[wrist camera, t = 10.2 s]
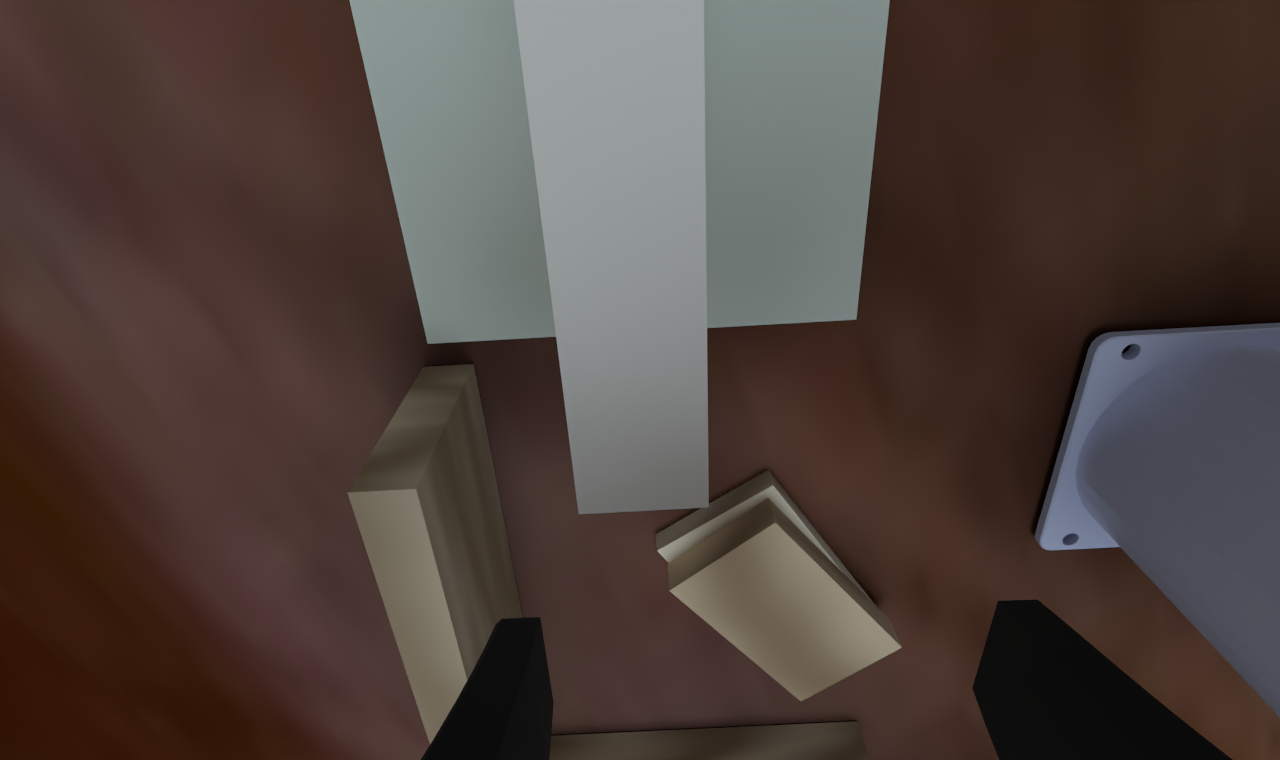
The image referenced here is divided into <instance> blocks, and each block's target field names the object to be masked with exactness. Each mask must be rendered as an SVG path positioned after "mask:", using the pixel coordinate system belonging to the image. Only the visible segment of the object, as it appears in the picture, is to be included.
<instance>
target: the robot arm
mask: <svg viewBox="0 0 1280 760" xmlns="http://www.w3.org/2000/svg"><path fill="white" fill-rule="evenodd" d="M1130 344H1131V347H1130V349H1129V350H1128V351H1126V352H1125V353H1123V354H1122V351H1123V349H1124V348H1125V347H1127V346H1128V345H1130ZM1068 534H1069V535H1068ZM1066 535H1067V536H1066ZM1065 536H1066V537H1065ZM1035 539H1036V541H1037V542H1038V543H1039V545H1040V546H1041V547H1042V548H1043V549H1045V550H1068V549H1088V548H1108V547H1121V548H1122V549H1123V551H1124V552H1125V553H1126V554H1127V555H1128V556H1129V557H1130V558H1131V559H1132V560H1133V561H1134V562H1135V563H1136V564H1137V566H1138V567H1139V568H1140V569H1141V570H1142V571H1143V572H1144V573H1145V574H1146V575H1147V576H1148V577H1149V578H1150V579H1151V580H1152V582H1153V583H1154V584H1155V585H1156V586H1157V587H1158V588H1159V589H1160V590H1161V591H1162V592H1163V593H1164V594H1165V595H1166V597H1167V598H1168V599H1169V600H1170V601H1171V602H1172V603H1173V604H1174V605H1175V606H1176V607H1177V608H1178V609H1179V610H1180V612H1181V613H1182V614H1183V615H1184V616H1185V617H1186V618H1187V619H1188V620H1189V621H1190V622H1191V623H1192V624H1193V625H1194V627H1195V628H1196V629H1197V630H1198V631H1199V632H1200V633H1201V634H1202V635H1203V636H1204V637H1205V638H1206V639H1207V640H1208V641H1209V643H1210V644H1211V645H1212V646H1213V647H1214V648H1215V649H1216V650H1217V651H1218V652H1219V653H1220V654H1221V655H1222V656H1223V658H1224V659H1225V660H1226V661H1227V662H1228V663H1229V664H1230V665H1231V666H1232V667H1233V668H1234V669H1235V670H1236V671H1237V673H1238V674H1239V675H1240V676H1241V677H1242V678H1243V679H1244V680H1245V681H1246V682H1247V683H1248V684H1249V685H1250V686H1251V688H1252V689H1253V690H1254V691H1255V692H1256V693H1257V694H1258V695H1259V696H1260V697H1261V698H1262V699H1263V700H1264V701H1265V702H1266V704H1267V705H1268V706H1269V707H1270V708H1271V709H1272V710H1273V711H1274V712H1275V713H1276V714H1277V715H1278V716H1279V717H1280V323H1265V324H1247V325H1229V326H1211V327H1193V328H1175V329H1157V330H1139V331H1122V332H1109V333H1104V334H1102V335H1100V336H1099V337H1097V338H1096V339H1095V340H1094V341H1093V342H1092V343H1091V345H1090V347H1089V349H1088V352H1087V356H1086V359H1085V363H1084V366H1083V370H1082V373H1081V377H1080V380H1079V384H1078V387H1077V390H1076V394H1075V397H1074V401H1073V404H1072V408H1071V411H1070V415H1069V418H1068V422H1067V425H1066V428H1065V432H1064V435H1063V439H1062V442H1061V446H1060V449H1059V453H1058V456H1057V460H1056V463H1055V467H1054V470H1053V473H1052V477H1051V480H1050V484H1049V487H1048V491H1047V494H1046V498H1045V501H1044V505H1043V508H1042V512H1041V515H1040V518H1039V522H1038V525H1037V529H1036V532H1035ZM973 691H974V694H975V696H976V699H977V702H978V705H979V708H980V710H981V713H982V716H983V719H984V722H985V724H986V727H987V730H988V732H989V735H990V737H991V740H992V742H993V745H994V747H995V750H996V753H997V755H998V757H999V759H1000V760H1232V759H1231V758H1229V757H1228V756H1227V755H1226V754H1224V753H1223V752H1222V751H1220V750H1219V749H1218V748H1217V747H1215V746H1214V745H1213V744H1212V743H1210V742H1209V741H1208V740H1206V739H1205V738H1204V737H1203V736H1201V735H1200V734H1199V733H1197V732H1196V731H1195V730H1194V729H1192V728H1191V727H1190V726H1189V725H1187V724H1186V723H1185V722H1184V721H1183V720H1181V719H1180V718H1179V717H1178V716H1176V715H1175V714H1174V713H1173V712H1171V711H1170V710H1169V709H1168V708H1166V707H1165V706H1164V705H1163V704H1162V703H1160V702H1159V701H1158V700H1157V699H1155V698H1154V697H1153V696H1152V695H1151V694H1149V693H1148V692H1147V691H1146V690H1145V689H1143V688H1142V687H1141V686H1140V685H1139V684H1137V683H1136V682H1135V681H1134V680H1133V679H1131V678H1130V677H1129V676H1128V675H1127V674H1125V673H1124V672H1123V671H1122V670H1121V669H1119V668H1118V667H1117V666H1116V665H1115V664H1113V663H1112V662H1111V661H1110V660H1109V659H1108V658H1106V657H1105V656H1104V655H1103V654H1102V653H1100V652H1099V651H1098V650H1097V649H1096V648H1095V647H1093V646H1092V645H1091V644H1090V643H1089V642H1087V641H1086V640H1085V639H1084V638H1083V637H1082V636H1080V635H1079V634H1078V633H1077V632H1076V631H1074V630H1073V629H1072V628H1071V627H1070V626H1069V625H1067V624H1066V623H1065V622H1064V621H1063V620H1061V619H1060V618H1059V617H1058V616H1057V615H1055V614H1054V613H1053V612H1052V611H1051V610H1049V609H1048V608H1047V607H1046V606H1044V605H1043V604H1042V603H1041V602H1040V601H1038V600H1014V601H998V603H997V606H996V610H995V613H994V617H993V620H992V623H991V627H990V630H989V634H988V637H987V640H986V644H985V647H984V651H983V654H982V658H981V661H980V664H979V668H978V671H977V675H976V678H975V681H974V685H973ZM552 714H553V698H552V691H551V685H550V678H549V672H548V665H547V659H546V652H545V646H544V639H543V633H542V626H541V620H540V617H535V618H507V619H501V620H500V621H499V622H498V623H496V625H495V627H494V629H493V631H492V633H491V635H490V638H489V640H488V642H487V644H486V646H485V648H484V650H483V652H482V654H481V656H480V658H479V660H478V662H477V663H476V665H475V667H474V669H473V671H472V673H471V675H470V677H469V678H468V680H467V682H466V684H465V686H464V687H463V689H462V691H461V693H460V695H459V697H458V698H457V700H456V702H455V704H454V705H453V707H452V709H451V710H450V712H449V714H448V715H447V717H446V719H445V721H444V722H443V724H442V726H441V727H440V729H439V731H438V732H437V734H436V736H435V737H434V739H433V741H432V742H431V744H430V746H429V747H428V749H427V751H426V752H425V754H424V755H423V757H422V759H421V760H549V755H550V743H551V728H552Z"/></svg>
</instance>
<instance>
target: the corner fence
mask: <svg viewBox="0 0 1280 760" xmlns="http://www.w3.org/2000/svg"><path fill="white" fill-rule="evenodd" d="M347 493H348V496H349V499H350V502H351V505H352V508H353V511H354V514H355V517H356V520H357V523H358V526H359V529H360V532H361V535H362V538H363V541H364V545H365V548H366V551H367V554H368V557H369V560H370V563H371V566H372V569H373V572H374V575H375V578H376V581H377V584H378V587H379V590H380V593H381V596H382V599H383V602H384V605H385V608H386V612H387V615H388V618H389V621H390V624H391V627H392V630H393V633H394V636H395V639H396V642H397V645H398V648H399V651H400V654H401V657H402V660H403V663H404V666H405V669H406V672H407V675H408V679H409V682H410V685H411V688H412V691H413V694H414V697H415V700H416V703H417V706H418V709H419V712H420V715H421V718H422V721H423V724H424V727H425V730H426V733H427V736H428V739H429V742H430V744H431V742H432V741H433V739H434V737H435V736H436V734H437V732H438V731H439V729H440V727H441V726H442V724H443V722H444V721H445V719H446V717H447V715H448V714H449V712H450V710H451V709H452V707H453V705H454V704H455V702H456V700H457V698H458V697H459V695H460V693H461V691H462V689H463V687H464V686H465V684H466V682H467V680H468V678H469V677H470V675H471V673H472V671H473V669H474V667H475V665H476V663H477V662H478V660H479V658H480V656H481V654H482V652H483V650H484V648H485V646H486V644H487V642H488V640H489V638H490V635H491V633H492V631H493V629H494V627H495V625H496V623H498V622H499V621H500V620H501V619H507V618H523V615H522V609H521V604H520V599H519V594H518V589H517V584H516V579H515V574H514V568H513V563H512V558H511V553H510V548H509V543H508V538H507V533H506V527H505V522H504V517H503V512H502V507H501V502H500V497H499V491H498V486H497V481H496V476H495V471H494V466H493V461H492V456H491V450H490V445H489V440H488V435H487V430H486V425H485V420H484V414H483V409H482V404H481V399H480V394H479V389H478V384H477V379H476V373H475V368H474V364H465V365H447V366H429V367H423V368H422V370H421V371H420V373H419V375H418V376H417V378H416V380H415V381H414V383H413V385H412V386H411V388H410V390H409V391H408V393H407V395H406V396H405V398H404V400H403V401H402V403H401V405H400V406H399V408H398V410H397V411H396V413H395V415H394V416H393V418H392V420H391V421H390V423H389V425H388V426H387V428H386V429H385V431H384V433H383V434H382V436H381V438H380V439H379V441H378V443H377V444H376V446H375V448H374V449H373V451H372V453H371V454H370V456H369V458H368V459H367V461H366V463H365V464H364V466H363V468H362V469H361V471H360V473H359V474H358V476H357V478H356V479H355V481H354V483H353V484H352V486H351V488H350V489H349V491H348V492H347ZM549 760H870V759H869V756H868V753H867V750H866V747H865V744H864V741H863V737H862V734H861V731H860V728H859V725H858V722H857V721H854V722H833V723H812V724H790V725H769V726H748V727H727V728H706V729H685V730H663V731H642V732H621V733H600V734H579V735H558V736H551V743H550V755H549Z"/></svg>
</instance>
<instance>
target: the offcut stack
mask: <svg viewBox="0 0 1280 760" xmlns="http://www.w3.org/2000/svg"><path fill="white" fill-rule="evenodd" d="M656 543H657V551H658V552H659V553H660V554H661V555H662V556H663V558H664V559H665V560H666V561H667V562H668V564H667V566H668V580H669V591H670V592H671V593H672V594H674V595H675V596H676V597H677V598H678V599H680V600H681V601H682V602H683V603H684V604H686V605H687V606H688V607H689V608H690V609H692V610H693V611H694V612H695V613H696V614H697V615H699V616H700V617H701V618H702V619H703V620H705V621H706V622H707V623H708V624H709V625H711V626H712V627H713V628H714V629H715V630H717V631H718V632H719V633H720V634H721V635H722V636H724V637H725V638H726V639H727V640H728V641H730V642H731V643H732V644H733V645H734V646H736V647H737V648H738V649H739V650H740V651H742V652H743V653H744V654H745V655H746V656H747V657H749V658H750V659H751V660H752V661H753V662H755V663H756V664H757V665H758V666H759V667H761V668H762V669H763V670H764V671H765V672H767V673H768V674H769V675H770V676H771V677H772V678H774V679H775V680H776V681H777V682H778V683H780V684H781V685H782V686H783V687H784V688H786V689H787V690H788V691H789V692H790V693H791V694H793V695H794V696H795V697H796V698H797V699H799V700H800V701H803V700H805V699H807V698H809V697H810V696H812V695H814V694H816V693H818V692H820V691H822V690H823V689H825V688H827V687H829V686H831V685H833V684H835V683H837V682H838V681H840V680H842V679H844V678H846V677H848V676H850V675H852V674H853V673H855V672H857V671H859V670H861V669H863V668H865V667H866V666H868V665H870V664H872V663H874V662H876V661H878V660H880V659H881V658H883V657H885V656H887V655H889V654H891V653H893V652H895V651H896V650H898V649H900V648H902V646H901V644H900V642H899V640H898V637H897V635H896V633H895V630H894V628H893V626H892V624H891V621H890V619H889V618H888V617H887V616H886V615H885V614H884V613H883V612H882V611H881V610H880V609H879V608H878V607H877V606H876V605H875V604H874V603H873V602H872V600H871V599H870V598H869V597H868V595H867V594H866V593H865V591H864V590H863V589H862V588H861V586H860V585H859V584H858V583H857V581H856V580H855V579H854V578H853V576H852V575H851V574H850V572H849V571H848V570H847V569H846V567H845V566H844V565H843V564H842V562H841V561H840V560H839V559H838V557H837V556H836V555H835V554H834V552H833V551H832V550H831V548H830V547H829V546H828V545H827V543H826V542H825V541H824V540H823V538H822V537H821V536H820V535H819V533H818V532H817V531H816V530H815V528H814V527H813V526H812V524H811V523H810V522H809V521H808V519H807V518H806V517H805V516H804V514H803V513H802V512H801V511H800V509H799V508H798V507H797V506H796V504H795V503H794V502H793V500H792V499H791V498H790V497H789V495H788V494H787V493H786V492H785V490H784V489H783V488H782V487H781V485H780V484H779V483H778V482H777V480H776V479H775V478H774V476H773V475H772V474H771V473H770V471H769V470H767V471H765V472H764V473H762V474H760V475H758V476H757V477H755V478H753V479H751V480H750V481H748V482H746V483H744V484H743V485H741V486H739V487H737V488H736V489H734V490H732V491H730V492H729V493H727V494H725V495H723V496H722V497H720V498H718V499H716V500H715V501H713V502H711V503H709V507H707V508H701V509H699V510H697V511H695V512H694V513H692V514H690V515H688V516H687V517H685V518H683V519H681V520H680V521H678V522H676V523H674V524H673V525H671V526H669V527H667V528H666V529H664V530H662V531H660V532H659V533H657V534H656Z"/></svg>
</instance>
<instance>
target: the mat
mask: <svg viewBox="0 0 1280 760" xmlns="http://www.w3.org/2000/svg"><path fill="white" fill-rule="evenodd" d="M349 1H350V5H351V9H352V14H353V18H354V23H355V27H356V31H357V36H358V40H359V45H360V49H361V53H362V58H363V62H364V67H365V71H366V75H367V80H368V84H369V88H370V93H371V97H372V102H373V106H374V110H375V115H376V119H377V124H378V128H379V132H380V137H381V141H382V146H383V150H384V154H385V159H386V163H387V168H388V172H389V176H390V181H391V185H392V189H393V194H394V198H395V203H396V207H397V211H398V216H399V220H400V225H401V229H402V233H403V238H404V242H405V247H406V251H407V255H408V260H409V264H410V269H411V273H412V277H413V282H414V286H415V291H416V295H417V299H418V304H419V308H420V312H421V317H422V321H423V326H424V330H425V334H426V339H427V343H428V344H435V343H452V342H470V341H488V340H505V339H523V338H541V337H556V332H555V324H554V316H553V308H552V300H551V292H550V284H549V277H548V269H547V261H546V253H545V245H544V237H543V229H542V221H541V213H540V206H539V198H538V190H537V182H536V174H535V166H534V158H533V150H532V142H531V135H530V127H529V119H528V111H527V103H526V95H525V87H524V79H523V71H522V64H521V56H520V48H519V40H518V32H517V24H516V16H515V8H514V0H349ZM889 3H890V0H704V65H705V169H706V273H707V328H717V327H735V326H753V325H770V324H788V323H806V322H823V321H841V320H856V318H857V308H858V299H859V289H860V279H861V270H862V260H863V251H864V241H865V232H866V222H867V213H868V203H869V194H870V184H871V174H872V165H873V155H874V146H875V136H876V127H877V117H878V108H879V98H880V89H881V79H882V69H883V60H884V50H885V41H886V31H887V22H888V12H889Z"/></svg>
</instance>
